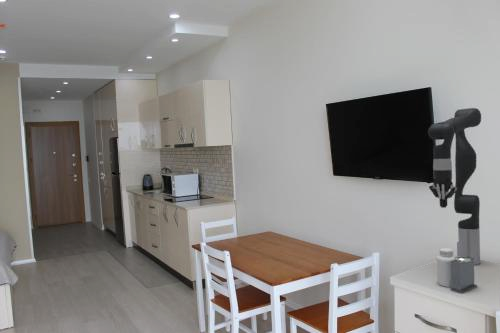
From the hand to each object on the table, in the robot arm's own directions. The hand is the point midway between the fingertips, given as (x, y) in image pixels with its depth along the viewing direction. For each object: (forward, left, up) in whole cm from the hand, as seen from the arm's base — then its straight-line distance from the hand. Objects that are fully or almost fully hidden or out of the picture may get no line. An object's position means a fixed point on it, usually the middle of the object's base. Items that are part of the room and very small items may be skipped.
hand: (443, 207), depth 192 cm
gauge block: (+16, -6, -31) cm, 35 cm away
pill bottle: (+9, -7, -31) cm, 33 cm away
